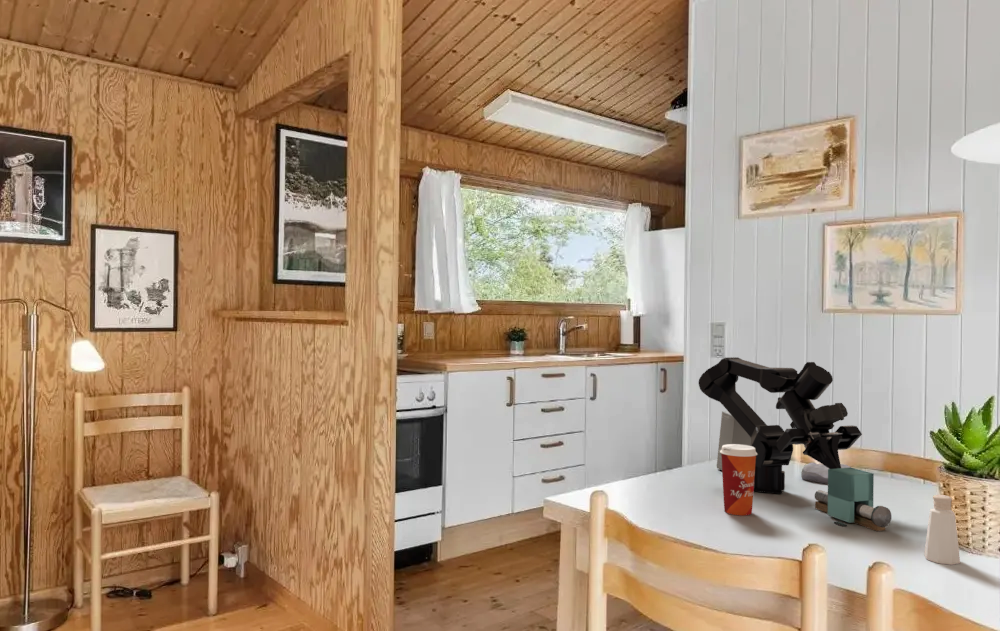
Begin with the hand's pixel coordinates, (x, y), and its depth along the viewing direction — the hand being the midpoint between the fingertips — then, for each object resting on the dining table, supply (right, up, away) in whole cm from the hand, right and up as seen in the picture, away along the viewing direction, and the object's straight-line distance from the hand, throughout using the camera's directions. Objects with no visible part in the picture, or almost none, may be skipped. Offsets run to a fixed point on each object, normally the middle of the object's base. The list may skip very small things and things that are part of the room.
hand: (838, 471), depth 152 cm
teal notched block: (+1, -9, -3) cm, 10 cm away
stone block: (+12, -10, +33) cm, 36 cm away
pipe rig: (+1, -9, -3) cm, 10 cm away
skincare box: (-8, -9, +41) cm, 43 cm away
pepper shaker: (+5, -9, -27) cm, 29 cm away
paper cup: (-21, -9, +2) cm, 23 cm away
